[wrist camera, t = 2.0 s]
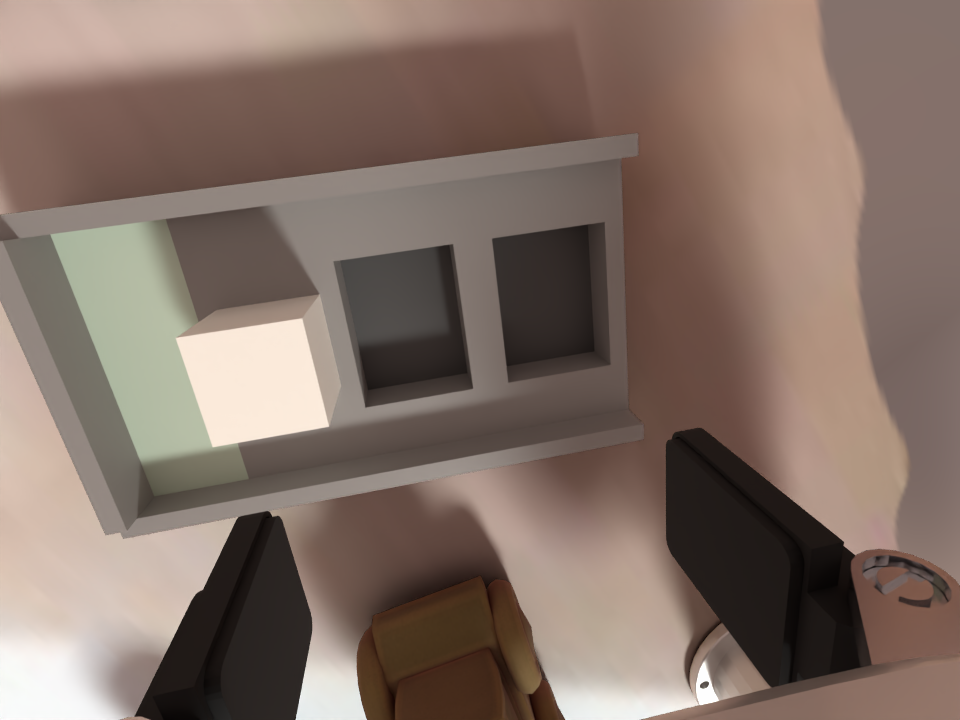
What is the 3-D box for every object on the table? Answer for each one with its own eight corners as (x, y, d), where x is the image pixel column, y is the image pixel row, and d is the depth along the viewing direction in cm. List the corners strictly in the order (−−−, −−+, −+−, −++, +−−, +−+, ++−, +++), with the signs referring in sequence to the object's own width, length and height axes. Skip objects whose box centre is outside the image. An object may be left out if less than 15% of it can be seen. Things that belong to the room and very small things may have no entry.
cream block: (319, 294, 26) (302, 318, 21) (341, 385, 28) (329, 426, 23) (217, 309, 25) (175, 338, 21) (244, 401, 27) (212, 447, 22)
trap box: (598, 141, 28) (647, 130, 23) (610, 404, 34) (652, 448, 28) (58, 211, 26) (-37, 218, 20) (164, 485, 31) (113, 551, 25)
